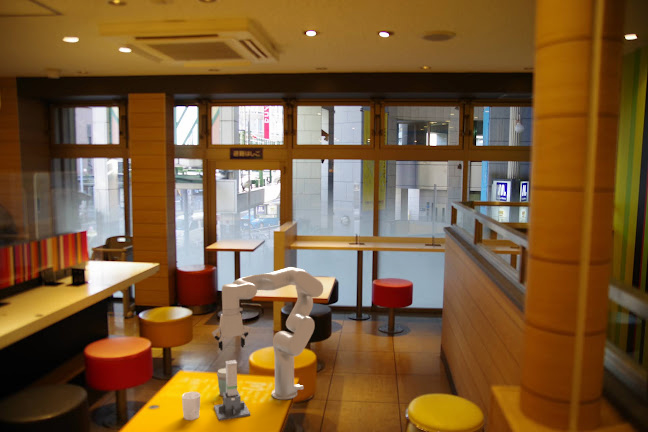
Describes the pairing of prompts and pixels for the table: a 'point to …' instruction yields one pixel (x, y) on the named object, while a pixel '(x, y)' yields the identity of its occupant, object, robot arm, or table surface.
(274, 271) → the robot arm
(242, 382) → the table surface
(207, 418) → the table surface
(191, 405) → the white cup
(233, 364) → the post
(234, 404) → the stand base
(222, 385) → the coffee cup
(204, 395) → the table surface
